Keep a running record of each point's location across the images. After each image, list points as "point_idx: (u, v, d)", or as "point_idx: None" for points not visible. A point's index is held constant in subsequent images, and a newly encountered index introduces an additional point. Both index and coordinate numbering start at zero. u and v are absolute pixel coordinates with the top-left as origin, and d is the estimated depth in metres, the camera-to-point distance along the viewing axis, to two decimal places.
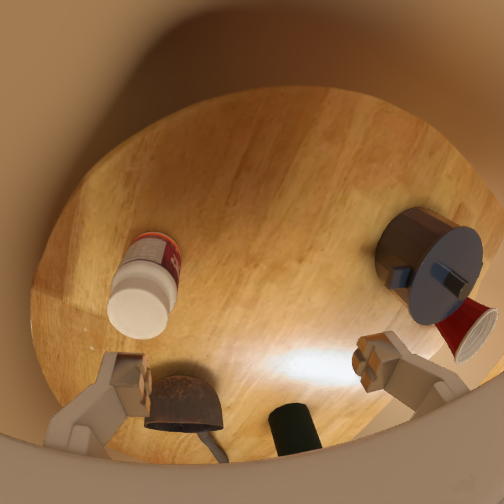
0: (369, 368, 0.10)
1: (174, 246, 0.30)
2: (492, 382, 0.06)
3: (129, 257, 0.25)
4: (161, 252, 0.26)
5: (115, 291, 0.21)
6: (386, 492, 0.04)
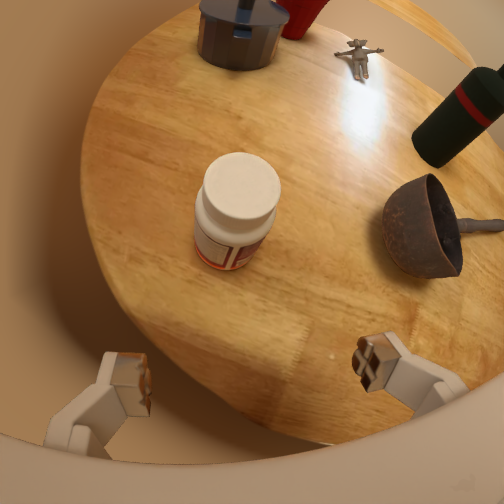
0: (369, 368, 0.10)
1: None
2: (492, 382, 0.06)
3: (197, 227, 0.22)
4: None
5: (209, 203, 0.18)
6: (386, 492, 0.04)
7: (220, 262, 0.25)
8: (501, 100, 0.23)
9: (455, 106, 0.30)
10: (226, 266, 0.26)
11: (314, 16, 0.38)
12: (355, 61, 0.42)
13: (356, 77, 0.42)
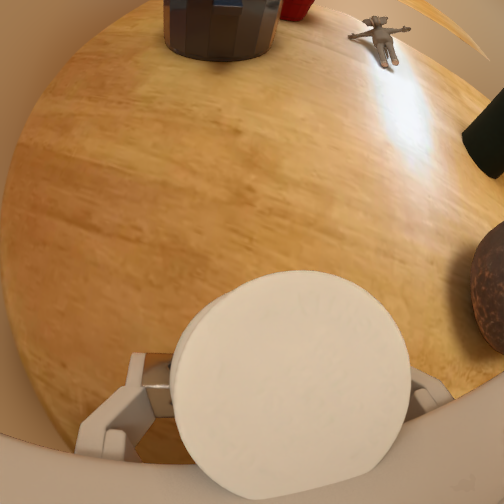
0: None
1: None
2: (492, 382, 0.06)
3: None
4: None
5: None
6: (386, 492, 0.04)
7: None
8: None
9: None
10: None
11: None
12: (378, 43, 0.29)
13: (383, 64, 0.30)
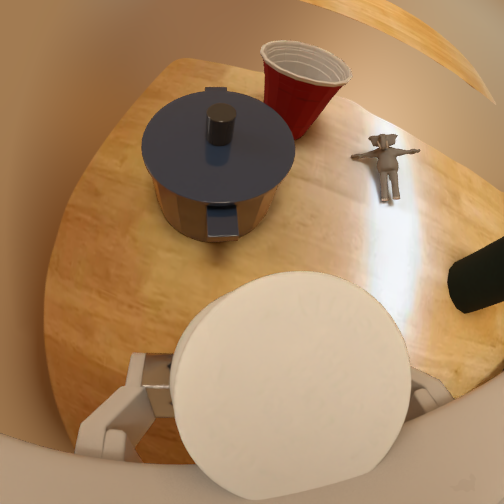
0: None
1: None
2: (492, 382, 0.06)
3: None
4: None
5: None
6: (386, 492, 0.04)
7: None
8: None
9: None
10: None
11: (324, 107, 0.31)
12: (382, 171, 0.35)
13: (384, 200, 0.35)
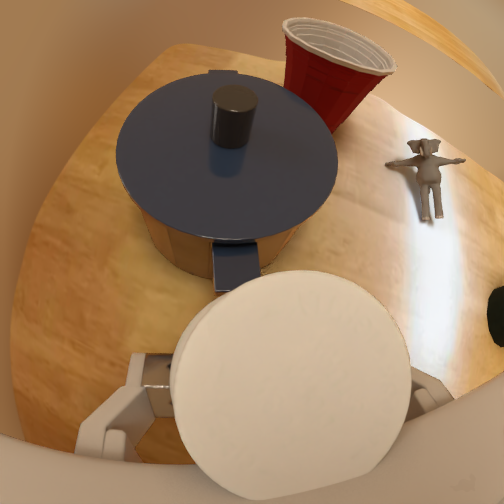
0: None
1: None
2: (492, 382, 0.06)
3: None
4: None
5: None
6: (386, 492, 0.04)
7: None
8: None
9: None
10: None
11: None
12: (423, 184, 0.27)
13: (425, 219, 0.27)
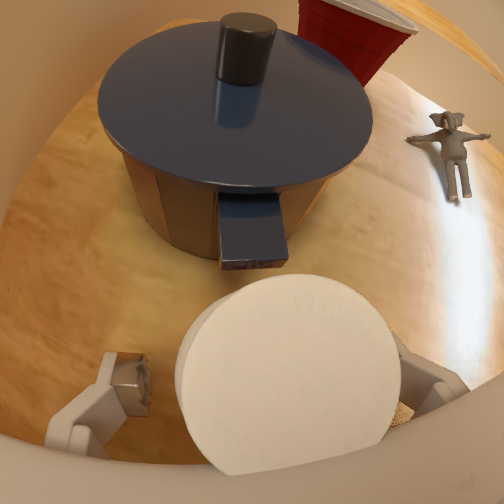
0: None
1: None
2: (492, 382, 0.06)
3: None
4: None
5: None
6: (386, 492, 0.04)
7: None
8: None
9: None
10: None
11: (380, 66, 0.19)
12: (448, 160, 0.23)
13: (452, 198, 0.23)
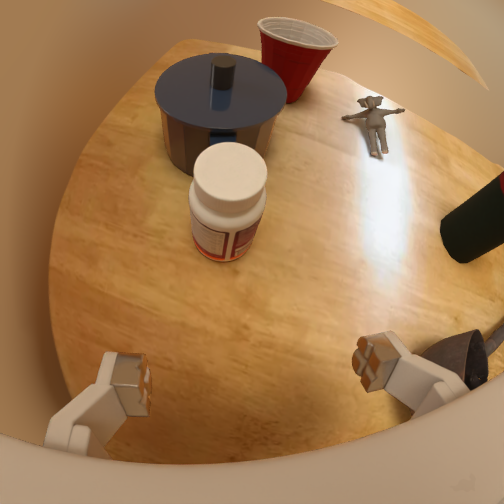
0: (369, 368, 0.10)
1: None
2: (492, 382, 0.06)
3: (193, 219, 0.23)
4: None
5: (201, 191, 0.19)
6: (386, 492, 0.04)
7: (219, 252, 0.26)
8: None
9: (500, 207, 0.24)
10: (225, 256, 0.27)
11: (315, 71, 0.33)
12: (370, 129, 0.37)
13: (373, 154, 0.37)
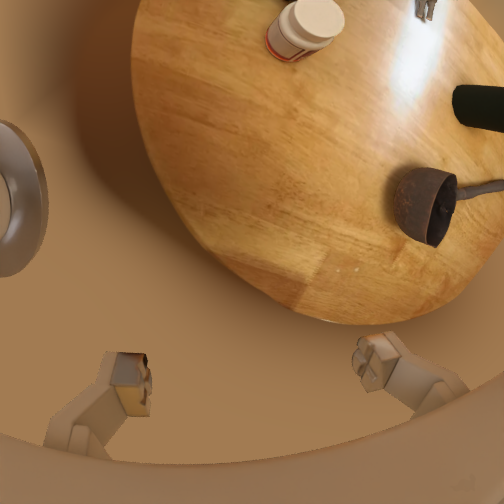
0: (369, 368, 0.10)
1: None
2: (492, 382, 0.06)
3: (278, 33, 0.24)
4: None
5: (297, 24, 0.20)
6: (386, 492, 0.04)
7: (288, 56, 0.28)
8: None
9: (502, 108, 0.25)
10: (291, 59, 0.29)
11: None
12: None
13: (418, 16, 0.28)
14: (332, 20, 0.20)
